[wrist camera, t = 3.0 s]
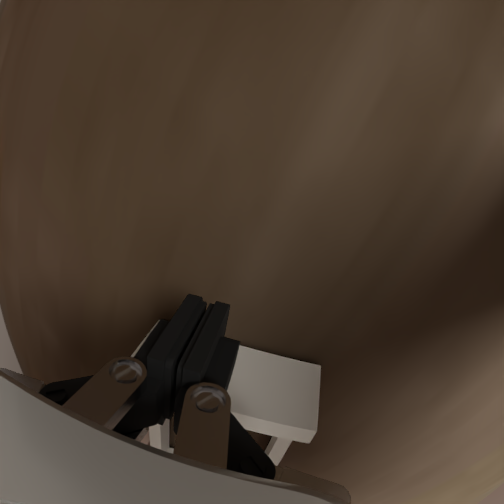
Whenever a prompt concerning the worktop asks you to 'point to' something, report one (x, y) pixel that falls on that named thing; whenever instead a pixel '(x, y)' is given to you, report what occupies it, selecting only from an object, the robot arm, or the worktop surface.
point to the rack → (266, 400)
